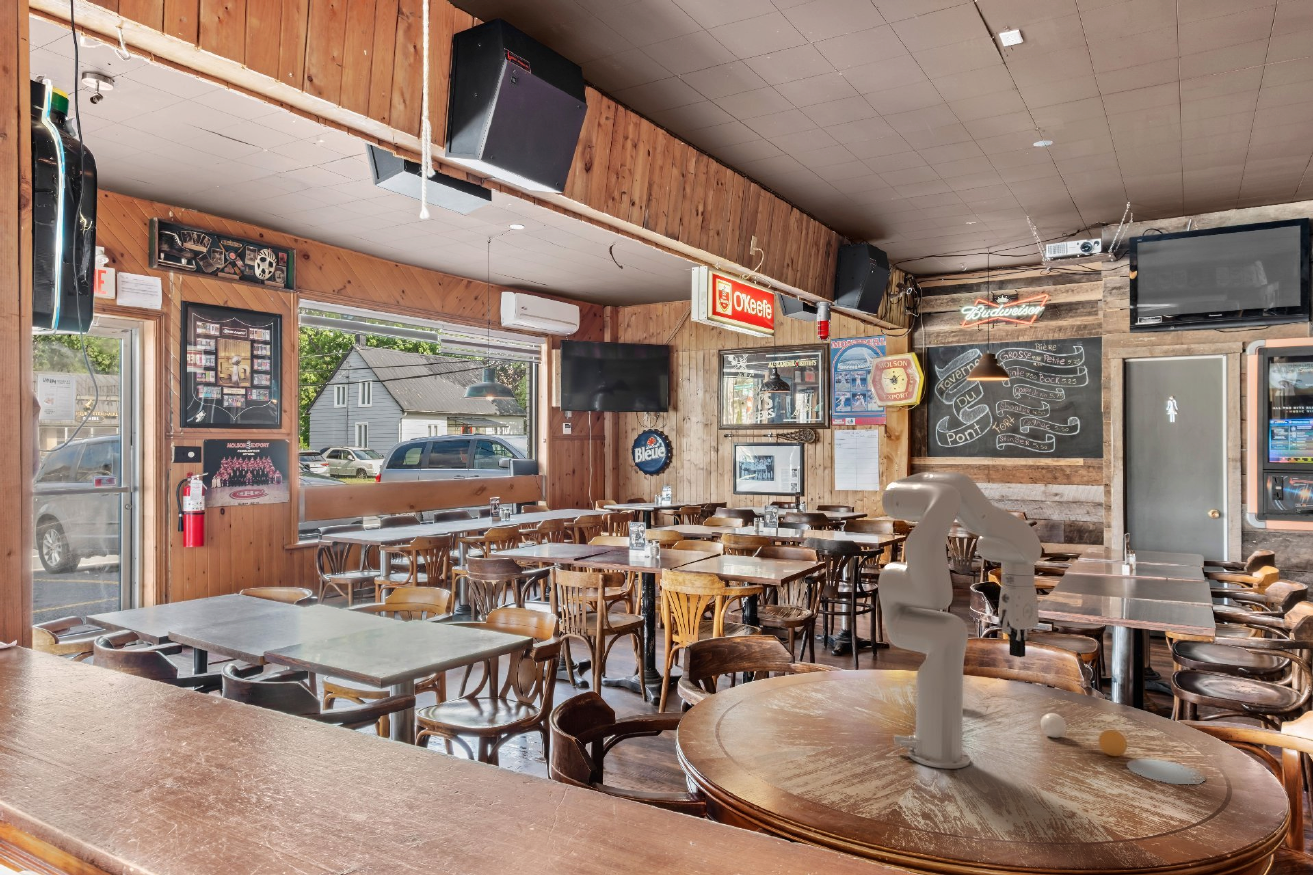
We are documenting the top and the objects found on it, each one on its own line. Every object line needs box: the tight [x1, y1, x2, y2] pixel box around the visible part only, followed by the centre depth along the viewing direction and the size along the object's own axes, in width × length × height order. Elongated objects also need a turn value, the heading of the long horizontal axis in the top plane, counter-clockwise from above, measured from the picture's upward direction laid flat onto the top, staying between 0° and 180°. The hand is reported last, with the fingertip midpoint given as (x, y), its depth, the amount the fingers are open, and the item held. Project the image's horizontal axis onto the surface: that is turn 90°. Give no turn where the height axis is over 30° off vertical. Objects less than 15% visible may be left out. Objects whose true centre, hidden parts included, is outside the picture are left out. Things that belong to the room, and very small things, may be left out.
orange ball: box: [1098, 729, 1128, 757], centre depth 182 cm, size 6×6×6 cm
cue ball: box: [1040, 712, 1067, 739], centre depth 194 cm, size 6×6×6 cm
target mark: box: [1126, 758, 1206, 786], centre depth 172 cm, size 14×14×1 cm
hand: (1017, 655), depth 202 cm, fingers closed
